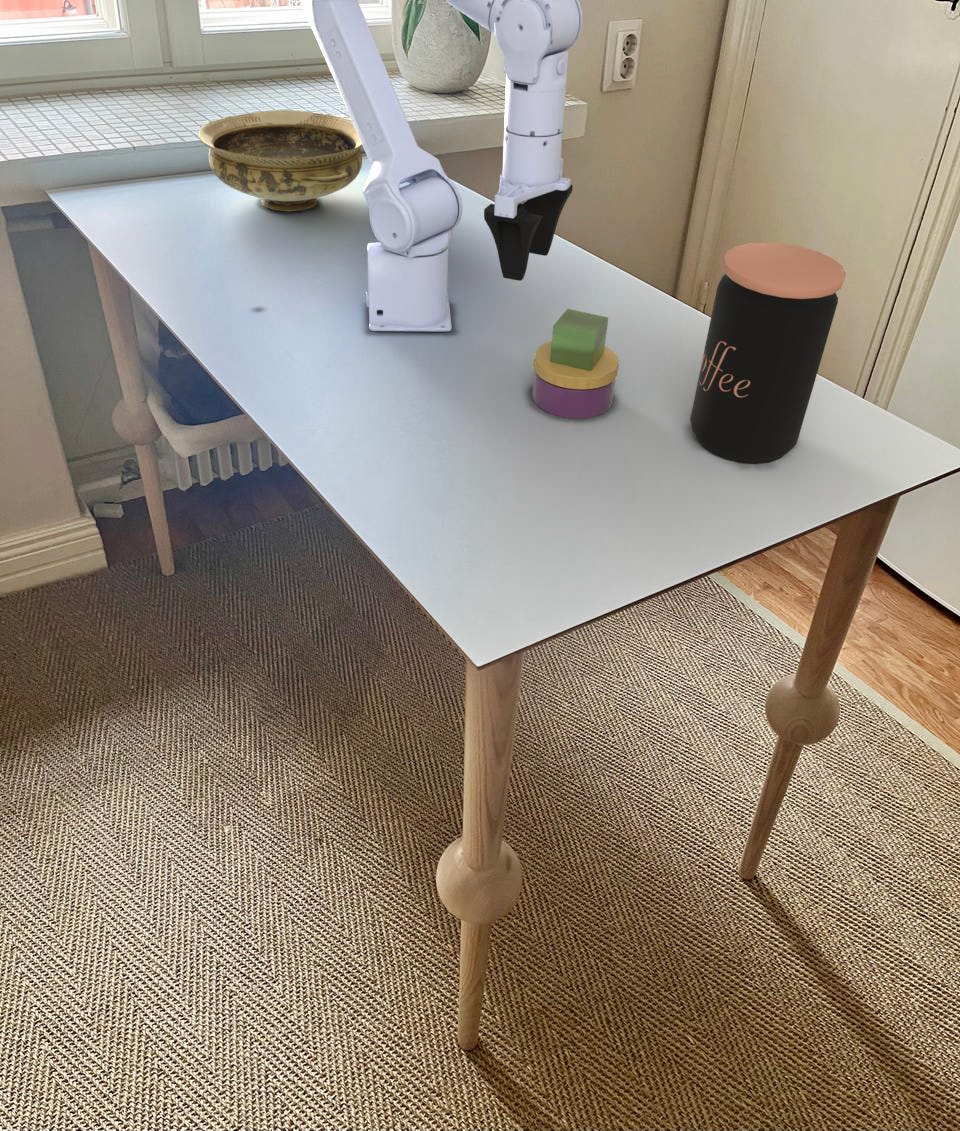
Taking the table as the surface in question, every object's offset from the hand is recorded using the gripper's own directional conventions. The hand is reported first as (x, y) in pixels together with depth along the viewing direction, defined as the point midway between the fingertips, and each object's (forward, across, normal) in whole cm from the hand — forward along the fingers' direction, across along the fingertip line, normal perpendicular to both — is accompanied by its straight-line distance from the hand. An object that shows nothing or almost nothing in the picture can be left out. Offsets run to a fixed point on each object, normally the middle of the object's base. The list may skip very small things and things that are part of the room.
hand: (526, 265), depth 103 cm
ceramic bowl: (+9, +30, +48) cm, 58 cm away
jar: (+11, -6, -8) cm, 15 cm away
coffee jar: (+11, -6, -26) cm, 29 cm away
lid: (+6, -7, -8) cm, 12 cm away
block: (+6, -6, -8) cm, 12 cm away
